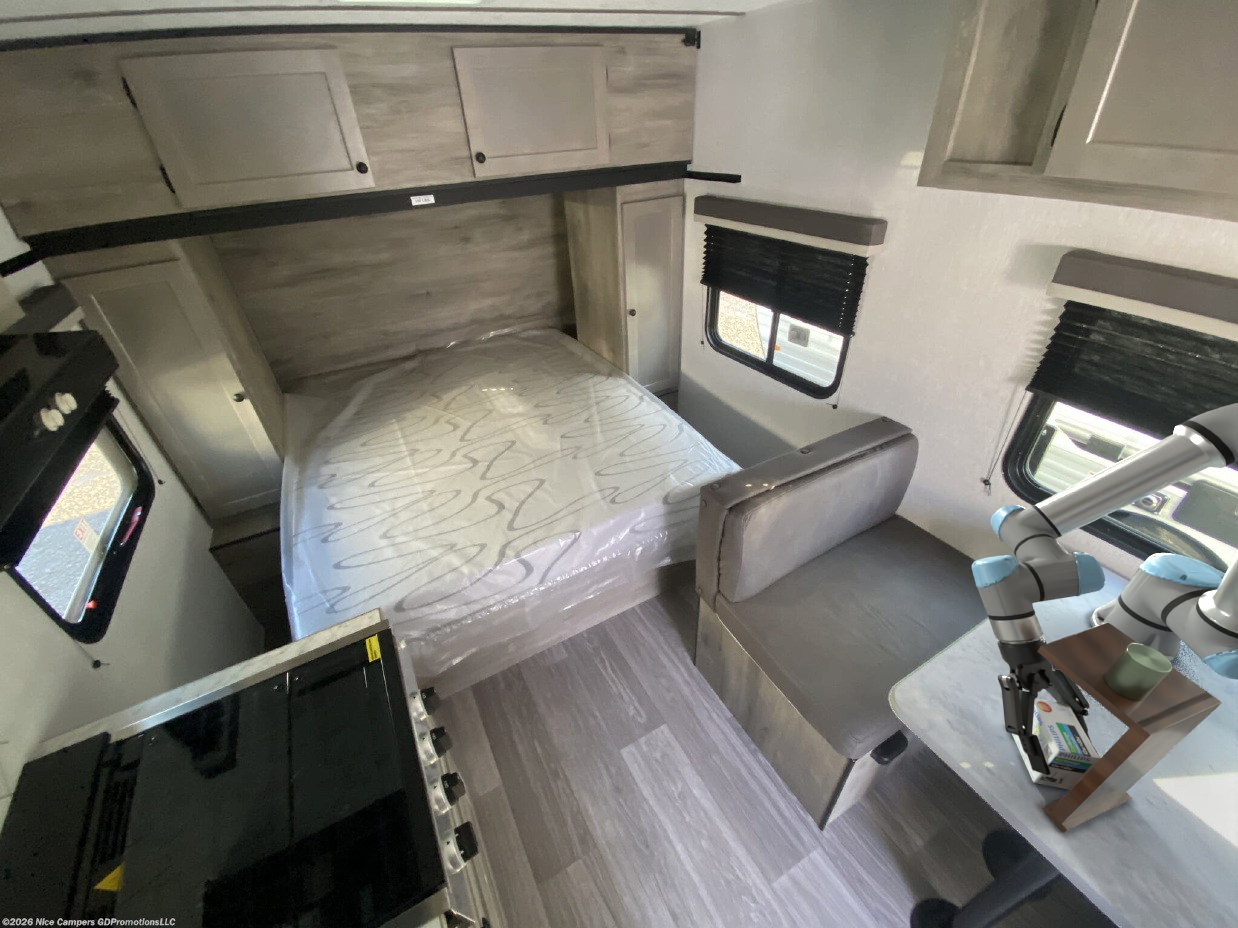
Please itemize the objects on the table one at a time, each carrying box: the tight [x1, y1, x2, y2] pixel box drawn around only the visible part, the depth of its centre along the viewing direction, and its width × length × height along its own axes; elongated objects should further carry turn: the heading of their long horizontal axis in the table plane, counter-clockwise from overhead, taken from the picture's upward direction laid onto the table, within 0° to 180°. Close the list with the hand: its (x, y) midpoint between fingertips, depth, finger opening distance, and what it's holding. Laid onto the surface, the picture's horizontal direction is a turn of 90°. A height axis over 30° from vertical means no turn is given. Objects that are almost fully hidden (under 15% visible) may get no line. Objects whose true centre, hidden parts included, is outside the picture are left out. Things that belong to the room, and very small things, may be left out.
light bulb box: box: [1011, 698, 1101, 791], centre depth 95 cm, size 11×7×11 cm, turn 168°
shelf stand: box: [1038, 622, 1223, 834], centre depth 86 cm, size 16×17×36 cm
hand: (1064, 761), depth 93 cm, fingers closed on light bulb box, 10 cm apart
